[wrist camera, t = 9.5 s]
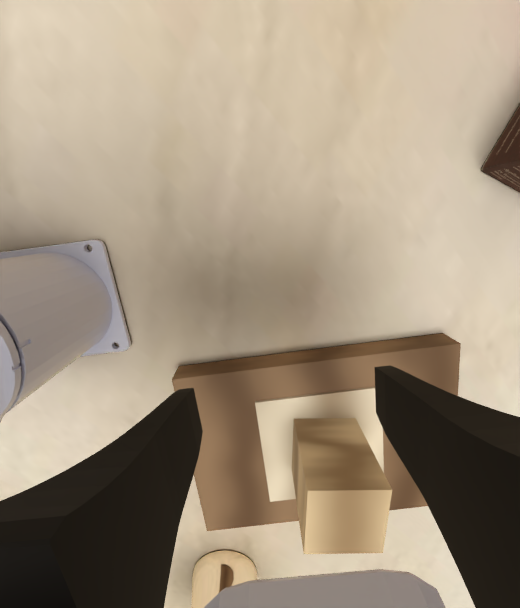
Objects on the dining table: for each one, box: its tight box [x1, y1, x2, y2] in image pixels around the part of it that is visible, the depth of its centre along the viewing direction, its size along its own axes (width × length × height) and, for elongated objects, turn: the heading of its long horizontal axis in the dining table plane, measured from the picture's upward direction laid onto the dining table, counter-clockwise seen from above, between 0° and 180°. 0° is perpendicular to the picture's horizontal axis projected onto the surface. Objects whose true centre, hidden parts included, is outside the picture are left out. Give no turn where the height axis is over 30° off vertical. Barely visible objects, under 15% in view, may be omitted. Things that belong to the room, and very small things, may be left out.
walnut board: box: [172, 333, 460, 531], centre depth 23 cm, size 20×14×2 cm
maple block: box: [292, 418, 392, 554], centre depth 19 cm, size 4×4×6 cm
